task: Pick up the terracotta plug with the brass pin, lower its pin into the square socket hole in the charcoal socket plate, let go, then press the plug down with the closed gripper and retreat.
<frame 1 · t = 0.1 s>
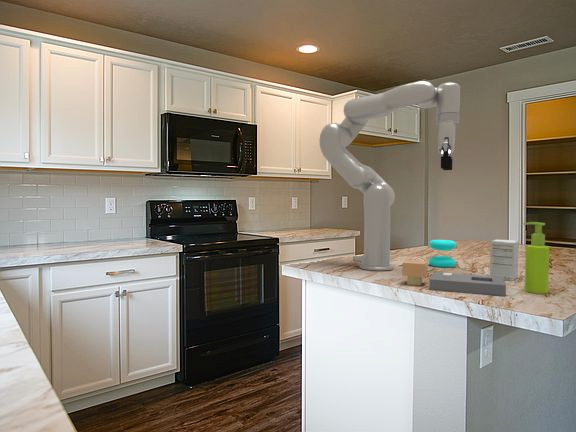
hand: (446, 169, 155), 37 cm above the countertop, tool pointing down, fingers open, 9 cm apart
supplement box: (503, 278, 149), on the countertop
donuts: (442, 266, 174), on the countertop
socket: (466, 288, 132), on the countertop
plug: (414, 283, 137), on the countertop
soap dispenser: (534, 292, 128), on the countertop
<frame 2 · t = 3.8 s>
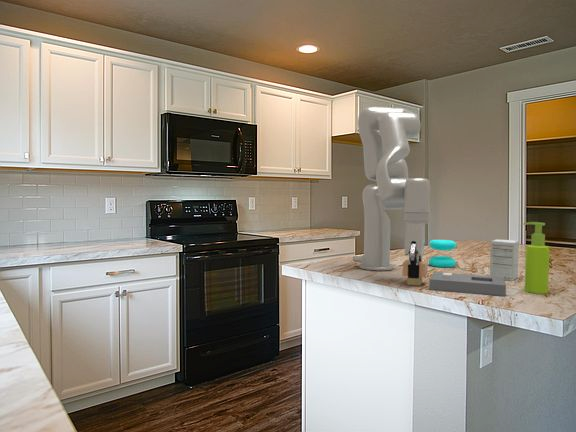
hand: (415, 275, 137), 3 cm above the countertop, tool pointing down, fingers closed on plug, 6 cm apart
plug: (414, 283, 137), on the countertop, touching gripper
everything else where it was.
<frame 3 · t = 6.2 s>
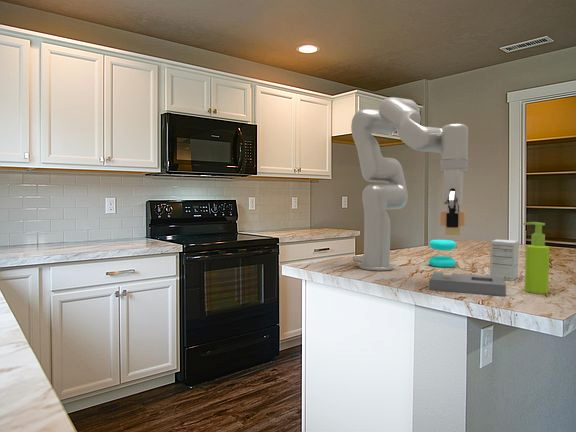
hand: (453, 226, 132), 18 cm above the countertop, tool pointing down, fingers closed on plug, 6 cm apart
plug: (453, 234, 132), point 16 cm above the countertop, touching gripper
everything else where it was.
when the fingers open (5 cm above the countertop, at t = 9.1 s): plug drops 2 cm, resting on socket.
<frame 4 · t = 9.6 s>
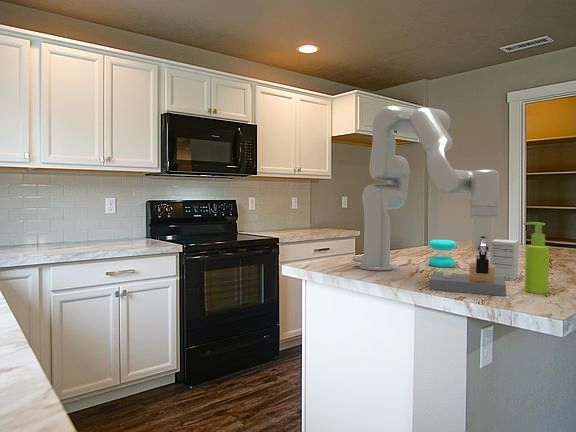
hand: (482, 270, 130), 6 cm above the countertop, tool pointing down, fingers open, 9 cm apart
plug: (481, 288, 130), resting on socket
everything else where it was.
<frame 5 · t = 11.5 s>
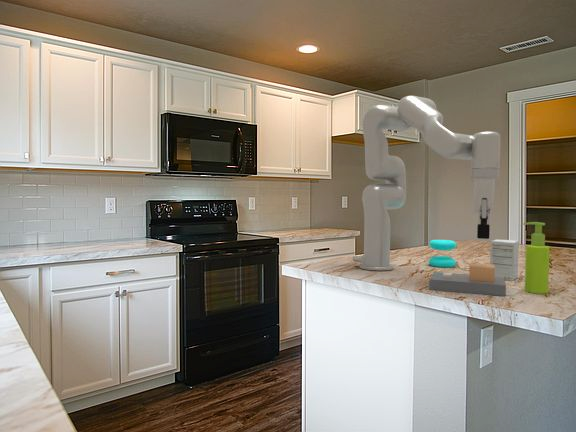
hand: (483, 238, 129), 15 cm above the countertop, tool pointing down, fingers closed
nothing on the countertop moved.
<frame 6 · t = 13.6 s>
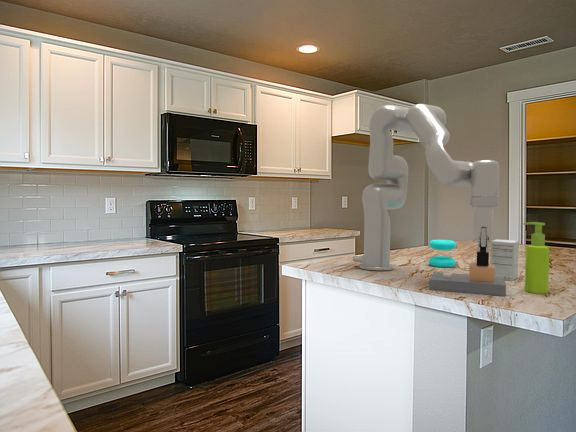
hand: (482, 265, 130), 7 cm above the countertop, tool pointing down, fingers closed
plug: (481, 288, 130), resting on socket, touching gripper
everything else where it was.
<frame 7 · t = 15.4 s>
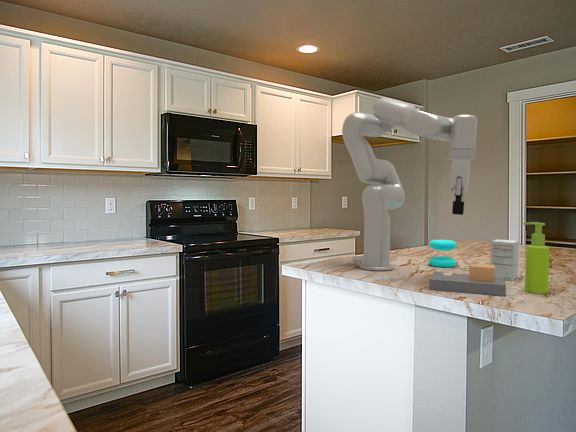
hand: (457, 214, 140), 22 cm above the countertop, tool pointing down, fingers closed
plug: (481, 288, 130), resting on socket
everything else where it was.
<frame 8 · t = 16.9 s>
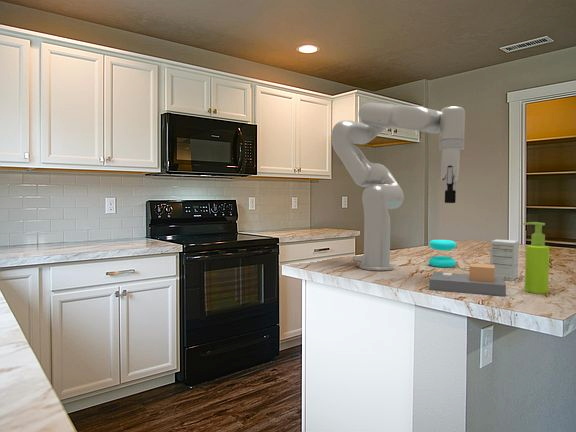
hand: (450, 202, 144), 25 cm above the countertop, tool pointing down, fingers closed
nothing on the countertop moved.
at the end: plug 0.0 cm from the target spot on the socket, point 0.2 cm above the socket's base; plug tilted 0°; the gripper is holding nothing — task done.
